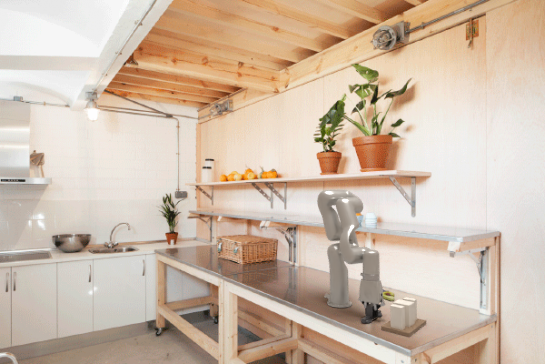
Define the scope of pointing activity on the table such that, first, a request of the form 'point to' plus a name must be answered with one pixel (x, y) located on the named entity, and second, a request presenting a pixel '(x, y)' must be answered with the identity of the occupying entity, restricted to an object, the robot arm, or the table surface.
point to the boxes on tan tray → (404, 318)
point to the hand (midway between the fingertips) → (371, 316)
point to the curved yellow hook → (388, 295)
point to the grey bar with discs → (370, 314)
